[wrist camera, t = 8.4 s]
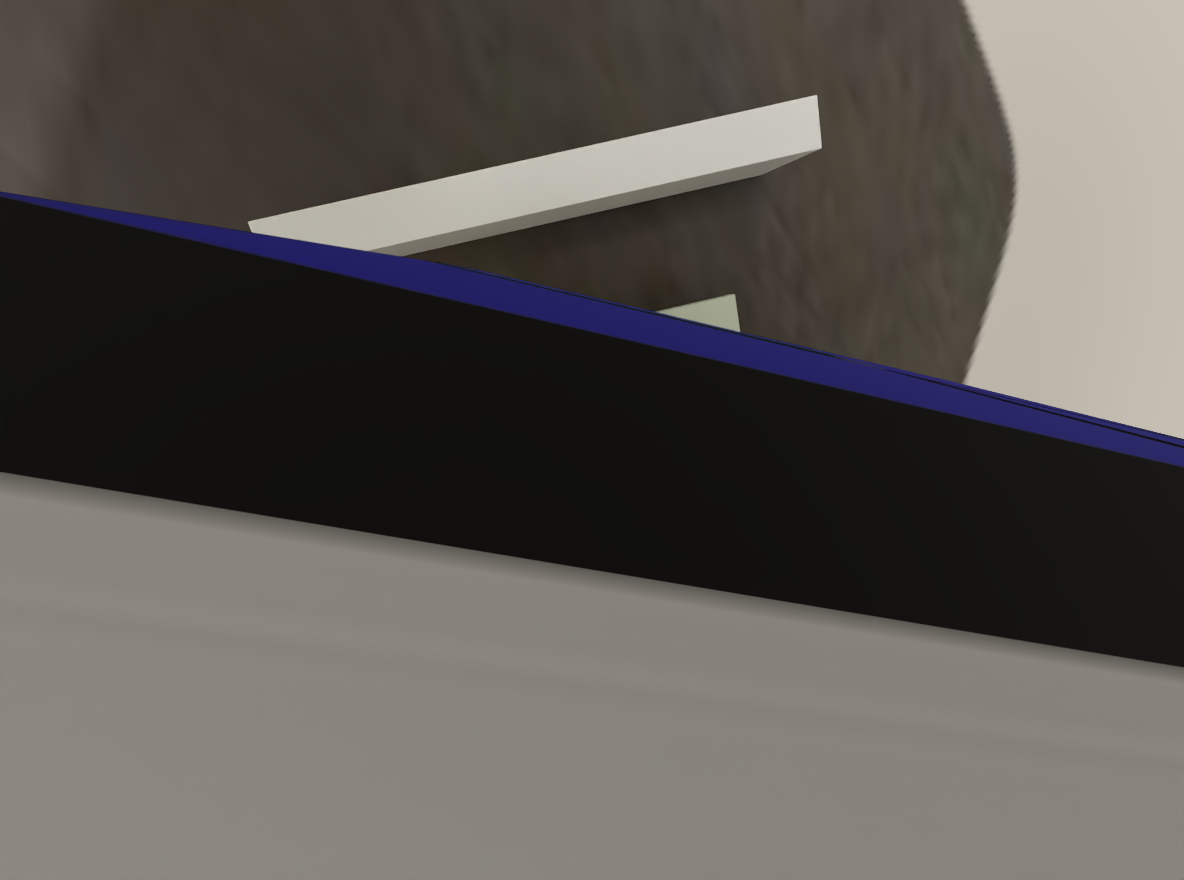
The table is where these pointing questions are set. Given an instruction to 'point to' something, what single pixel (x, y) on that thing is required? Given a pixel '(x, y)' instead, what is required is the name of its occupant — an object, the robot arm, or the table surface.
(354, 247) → the white flat bar
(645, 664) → the puzzle cube
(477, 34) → the table surface
